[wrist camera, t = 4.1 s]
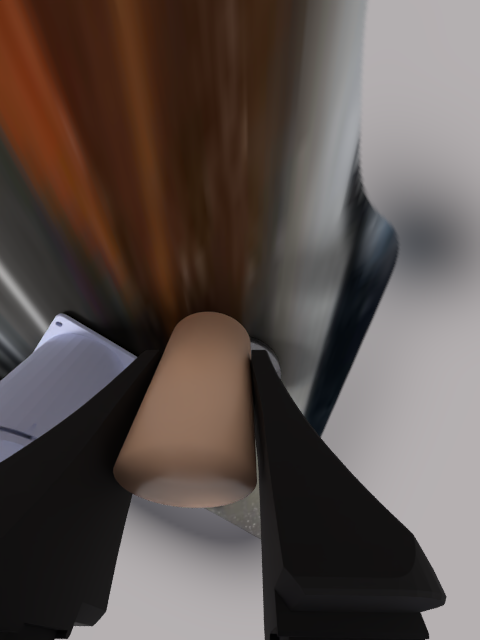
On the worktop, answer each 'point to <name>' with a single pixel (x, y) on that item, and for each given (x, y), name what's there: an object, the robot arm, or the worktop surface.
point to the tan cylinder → (195, 420)
